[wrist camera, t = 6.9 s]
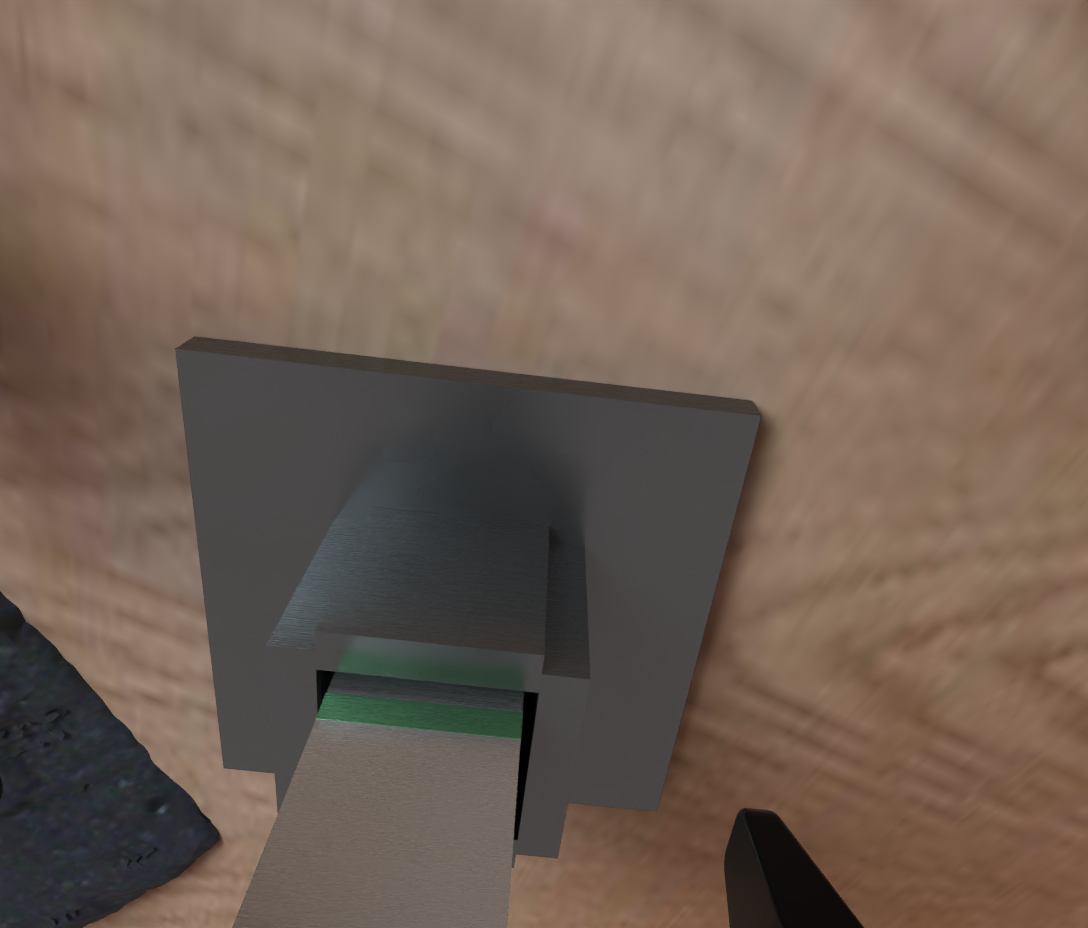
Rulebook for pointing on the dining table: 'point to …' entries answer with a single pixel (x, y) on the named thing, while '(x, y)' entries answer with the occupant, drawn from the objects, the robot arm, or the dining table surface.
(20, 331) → the dining table surface
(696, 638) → the stand
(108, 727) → the dark slate chunk
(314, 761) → the column
